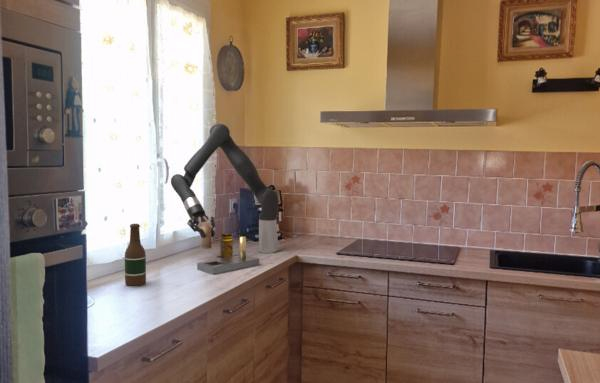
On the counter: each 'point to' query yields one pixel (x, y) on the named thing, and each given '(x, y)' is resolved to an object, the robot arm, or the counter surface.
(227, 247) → the condiment
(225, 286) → the counter surface
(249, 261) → the bolt plate
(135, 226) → the beer bottle
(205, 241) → the walnut peg
